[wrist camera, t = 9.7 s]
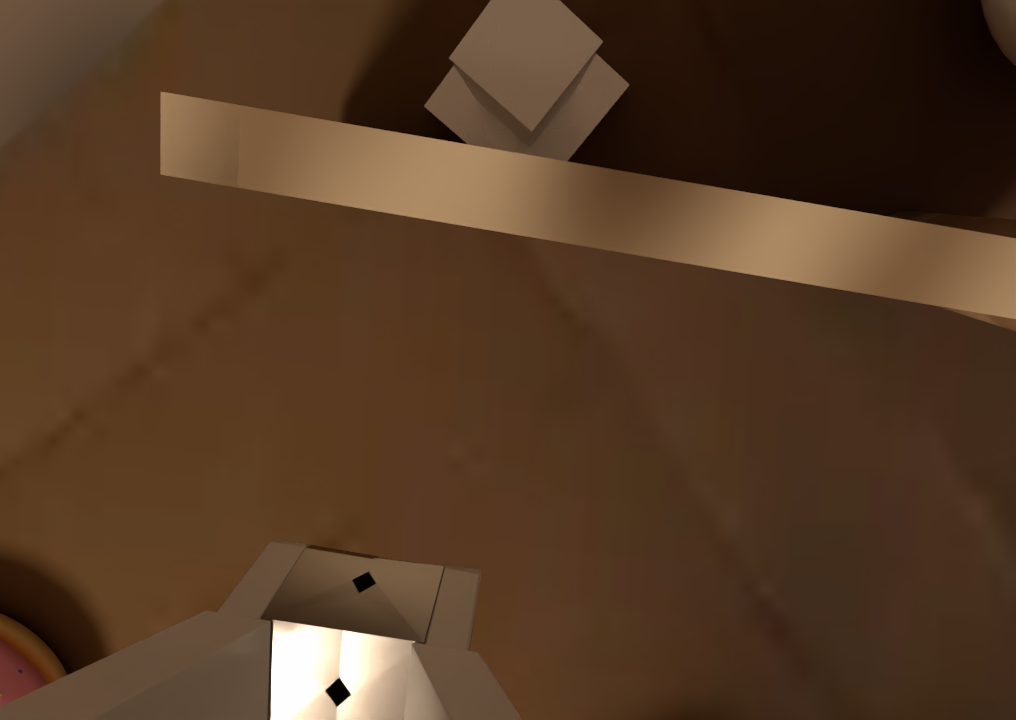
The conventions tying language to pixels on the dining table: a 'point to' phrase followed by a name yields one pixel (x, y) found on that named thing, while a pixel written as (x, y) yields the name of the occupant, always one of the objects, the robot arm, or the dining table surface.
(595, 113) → the stop post
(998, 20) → the lidded jar
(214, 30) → the dining table surface
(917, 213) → the hinge post
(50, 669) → the doughnut
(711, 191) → the wooden panel
